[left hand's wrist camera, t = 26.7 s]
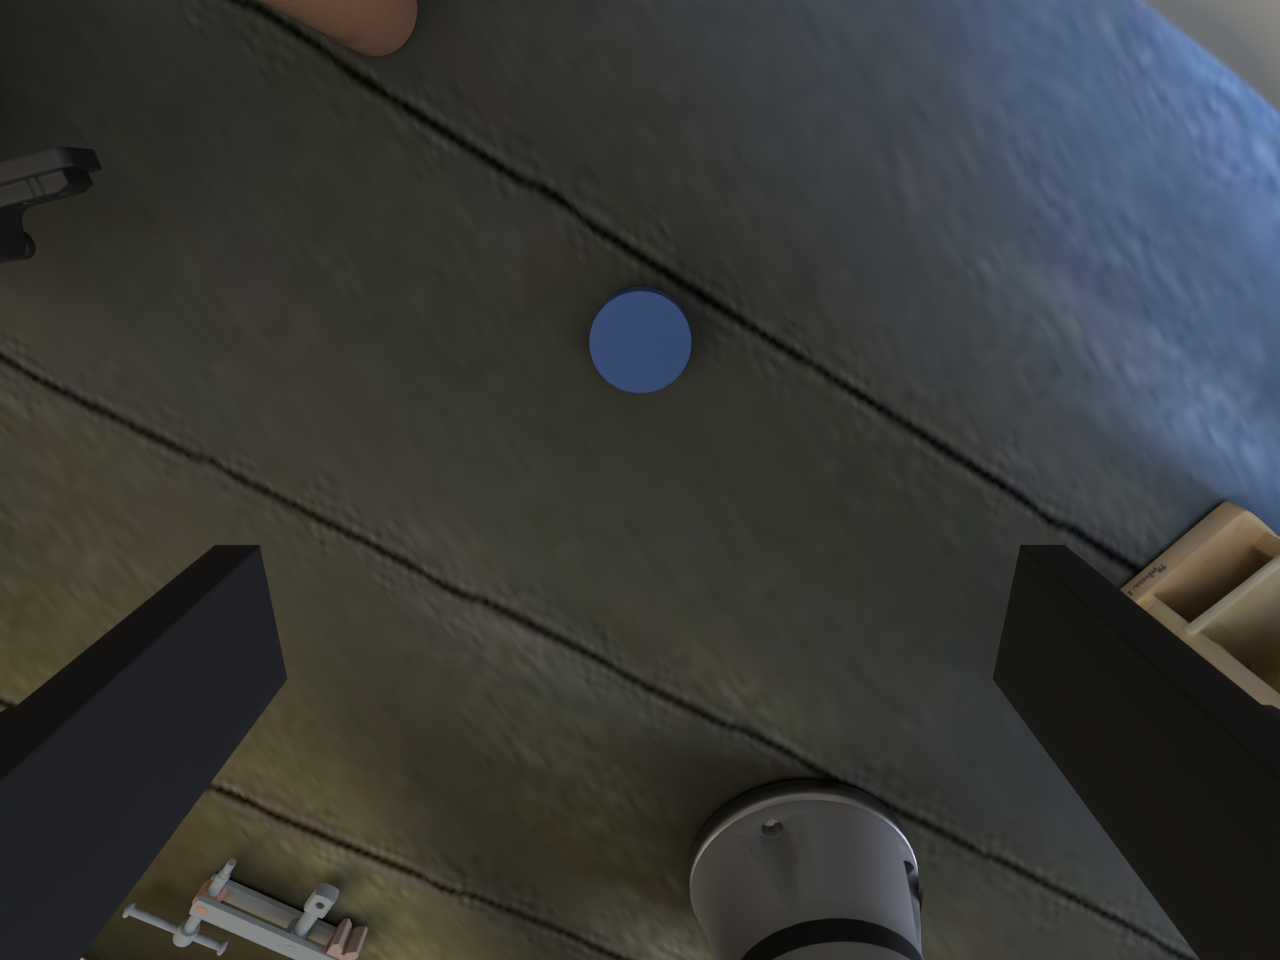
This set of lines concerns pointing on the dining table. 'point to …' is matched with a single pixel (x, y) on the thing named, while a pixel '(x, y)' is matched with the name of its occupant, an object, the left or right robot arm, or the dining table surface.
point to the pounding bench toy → (1222, 597)
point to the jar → (355, 21)
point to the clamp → (292, 942)
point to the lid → (640, 340)
